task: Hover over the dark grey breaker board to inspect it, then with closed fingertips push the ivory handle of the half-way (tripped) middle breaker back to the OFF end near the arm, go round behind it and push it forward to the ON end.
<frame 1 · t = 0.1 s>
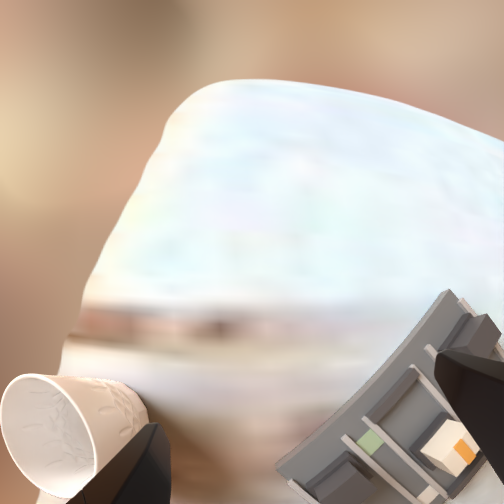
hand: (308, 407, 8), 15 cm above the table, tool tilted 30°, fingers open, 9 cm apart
breaker panel: (421, 432, 20), on the table
white cup: (114, 417, 22), on the table
tripped breaker: (448, 445, 16), point 4 cm above the table, slide at 4.0 cm
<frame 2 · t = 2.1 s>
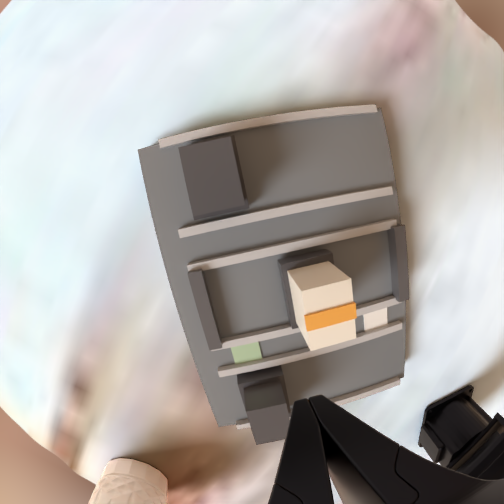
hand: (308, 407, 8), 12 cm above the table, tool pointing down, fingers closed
breaker panel: (293, 278, 20), on the table
white cup: (136, 475, 24), on the table
tripped breaker: (317, 299, 16), point 4 cm above the table, slide at 4.0 cm
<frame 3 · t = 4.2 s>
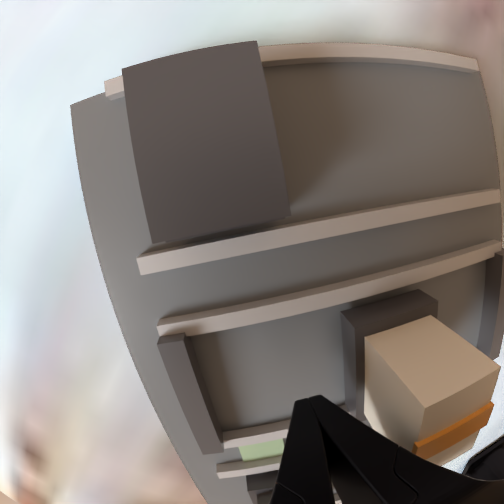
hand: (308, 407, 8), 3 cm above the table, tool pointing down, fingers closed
breaker panel: (341, 335, 12), on the table
tripped breaker: (414, 387, 8), point 4 cm above the table, slide at 3.5 cm, touching gripper
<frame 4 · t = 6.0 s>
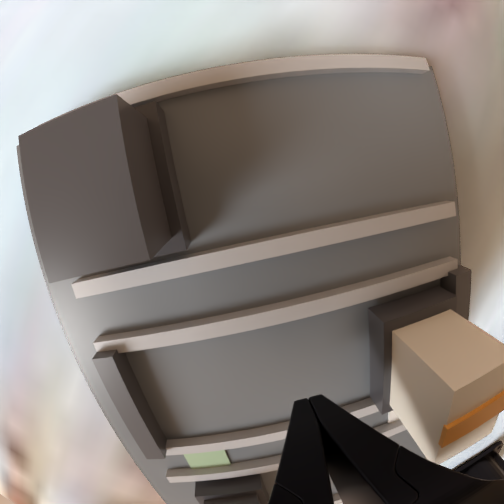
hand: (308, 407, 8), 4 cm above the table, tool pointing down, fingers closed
breaker panel: (280, 354, 12), on the table
tripped breaker: (438, 377, 8), point 4 cm above the table, slide at 0.0 cm
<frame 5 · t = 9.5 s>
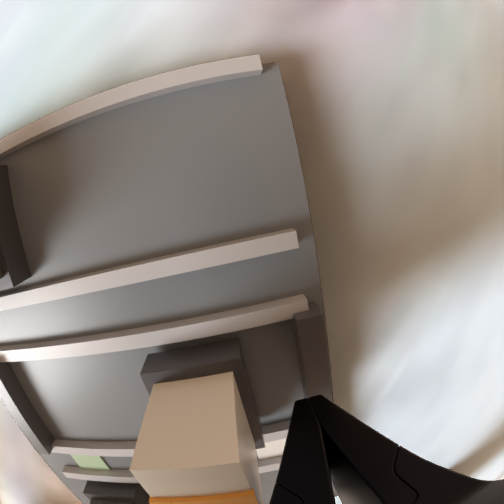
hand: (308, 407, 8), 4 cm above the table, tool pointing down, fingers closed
breaker panel: (137, 377, 11), on the table
tripped breaker: (206, 442, 8), point 4 cm above the table, slide at 1.4 cm, touching gripper
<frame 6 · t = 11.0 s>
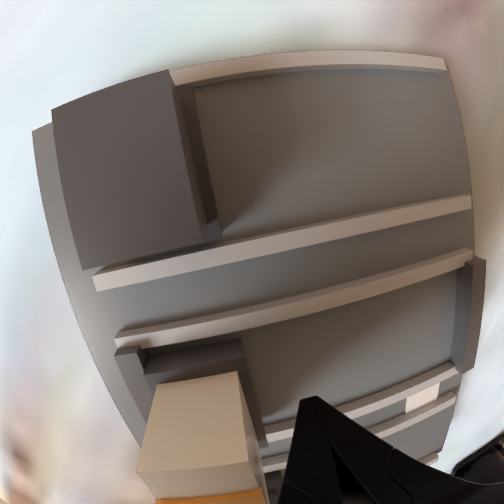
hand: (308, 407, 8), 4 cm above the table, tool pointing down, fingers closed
breaker panel: (302, 346, 12), on the table
tripped breaker: (210, 443, 8), point 4 cm above the table, slide at 8.2 cm, touching gripper
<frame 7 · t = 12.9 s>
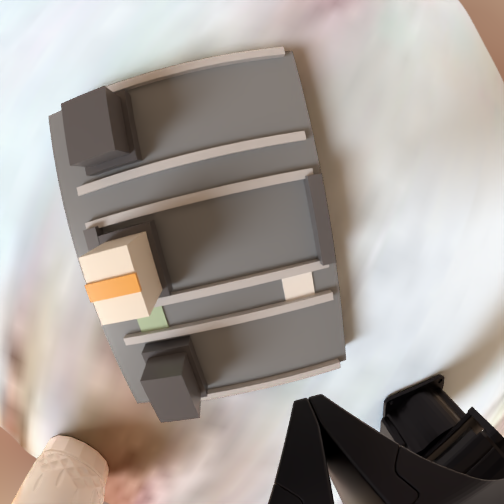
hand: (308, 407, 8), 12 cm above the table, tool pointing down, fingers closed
breaker panel: (200, 239, 19), on the table
white cup: (79, 455, 22), on the table
tripped breaker: (126, 272, 14), point 4 cm above the table, slide at 8.0 cm
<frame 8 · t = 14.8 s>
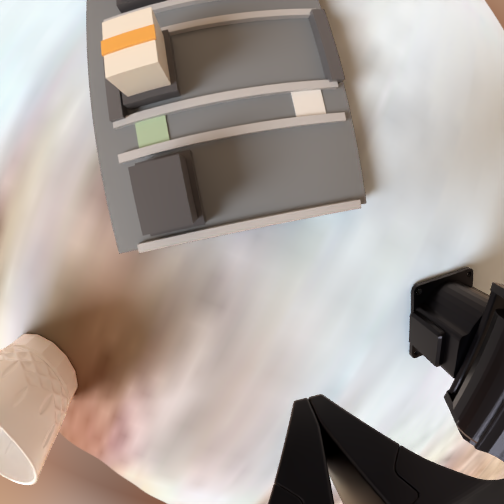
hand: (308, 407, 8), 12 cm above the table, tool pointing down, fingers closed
breaker panel: (212, 68, 17), on the table
white cup: (45, 367, 20), on the table
tripped breaker: (140, 57, 13), point 4 cm above the table, slide at 8.0 cm
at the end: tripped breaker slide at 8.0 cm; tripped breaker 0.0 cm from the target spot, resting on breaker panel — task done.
